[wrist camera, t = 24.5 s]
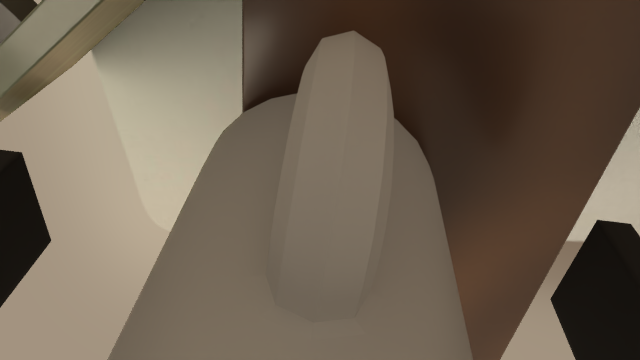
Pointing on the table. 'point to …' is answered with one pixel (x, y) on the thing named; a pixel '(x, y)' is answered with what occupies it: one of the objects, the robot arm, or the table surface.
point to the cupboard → (482, 119)
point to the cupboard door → (49, 41)
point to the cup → (307, 235)
